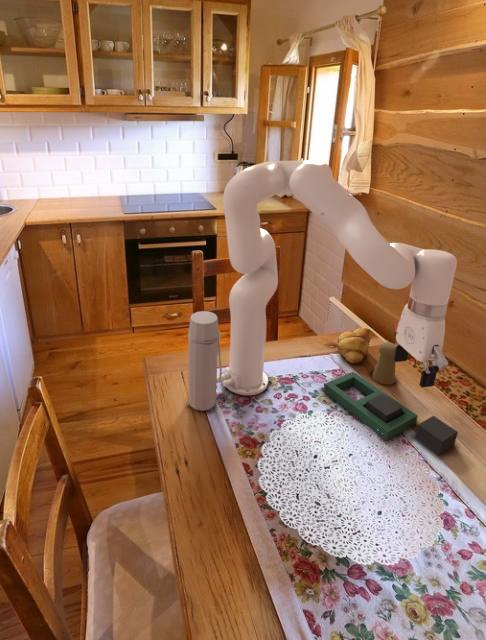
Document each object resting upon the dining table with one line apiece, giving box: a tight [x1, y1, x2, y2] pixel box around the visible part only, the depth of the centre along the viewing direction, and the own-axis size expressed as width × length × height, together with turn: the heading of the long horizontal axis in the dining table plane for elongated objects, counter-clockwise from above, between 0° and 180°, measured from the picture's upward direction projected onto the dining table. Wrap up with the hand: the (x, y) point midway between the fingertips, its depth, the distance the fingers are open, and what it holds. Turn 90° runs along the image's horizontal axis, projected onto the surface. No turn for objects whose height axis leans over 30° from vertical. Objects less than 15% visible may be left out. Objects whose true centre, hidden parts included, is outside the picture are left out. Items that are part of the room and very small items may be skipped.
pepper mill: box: [372, 341, 396, 385], centre depth 115 cm, size 6×6×11 cm
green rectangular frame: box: [323, 371, 419, 441], centre depth 105 cm, size 11×20×2 cm, turn 31°
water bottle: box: [187, 310, 223, 412], centre depth 102 cm, size 9×8×25 cm
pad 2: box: [414, 415, 459, 456], centre depth 94 cm, size 6×6×4 cm
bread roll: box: [337, 327, 372, 364], centre depth 127 cm, size 13×10×8 cm
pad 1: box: [365, 394, 403, 424], centre depth 101 cm, size 6×6×4 cm
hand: (412, 372), depth 94 cm, fingers open, 9 cm apart
